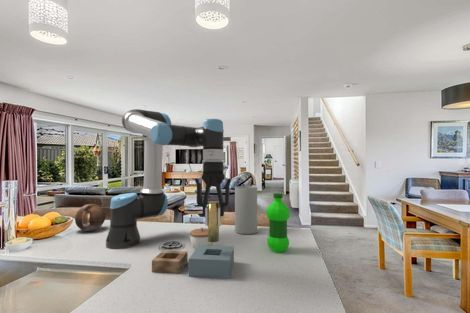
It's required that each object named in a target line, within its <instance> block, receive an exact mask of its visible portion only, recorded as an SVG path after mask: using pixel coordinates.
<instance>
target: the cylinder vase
mask: <svg viewBox="0 0 470 313" xmlns="http://www.w3.org/2000/svg"><path fill="white" fill-rule="evenodd" d="M234 231H235V233H237V234H240V235H254V234H257V232H258V187H257V186H253V185H239V186H235V187H234Z"/></svg>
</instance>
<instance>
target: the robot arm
mask: <svg viewBox="0 0 470 313" xmlns="http://www.w3.org/2000/svg"><path fill="white" fill-rule="evenodd" d="M121 124H122V126H123V128H124V129H125V130H126V131H127V132H129V133H132V134H140V135H142V138H143V140H144V142H145V147H144V167H143V168H144V170H143V186H142V189H141V190H139V195H138V193H136V192H130V193H129V192H128V193H122V194H118V195H114V196H113V197H112V198H111V199H110V205H109V209H110V215H109V216H110V219H109V222H110V223H109V224H110V225H109V231H108V234H107V236H106V239H105V247H106V248H108V249H125V248H127V249H128V248H131V247H133V246H137V245H139V244H140V243H141V235H140V232H139V229H138V228H139V227H138V226H137V225H138V223H137V222H138V220H141V219H147V218H156V217H159V216H162V215H164V214H165V213H166V211H167V209H168V206H169V205H168V203H169V201H168V196H167V195H166V193H165V192H164V189H163V188H162V172H163V169H162V167H163V153H164V152H163V151H164V146H179V147H189V148H198V147H200V148H201V147H202V160H203V163H202V175H201V177H198V178H195V179H194V182H195V184H196V197H197V198H196V200H197V203H196V204H197V206H199V207H202V216H203V217H204V218H205V220H204V221H205V223H204V225H205V227H208V202H209V201H208V200H209V197H210V191H211V187H214V188H215V189H216V194H217V198H218V199H217V200H218V202H219V208H218V226H219V227H220V226H222V217H224V216H225V207H228V206H229V205H230V187H231V186H230V185H231V183H232V178H228V177H226V175H225V174H224V162H223V161H224V132H225V131H224V122H223V121H222V119H219V118H218V119H217V118H206V119H204V120H203V122H202V126H200V127H193V126H184V125H178V124H177V125H175V124H172V121H171V118H170V117H169V115H168V114H166V113H163V112H159V111H154V110H153V111H152V110H145V109H140V108H139V109H130V110H128V111H126V112H125V113H124V114H123V115H122V118H121ZM203 182H204V184H205V189H204V190H205V191H204V195H203V190H202V189H203V188H202V183H203ZM223 182H224V184H225V187H224V189H225V190H224V191H225V193H224V198H223V192H222V187H221V184H222V183H223Z"/></svg>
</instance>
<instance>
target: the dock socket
mask: <svg viewBox="0 0 470 313" xmlns="http://www.w3.org/2000/svg"><path fill="white" fill-rule="evenodd" d="M234 264H235V246H232V245H231V246H230V245H229V246H228V245H211V246H210V245H199V246H198V247H197V248H196V250H195V249H194V251H193V252H192V253H191V255H190V256H189V257H188V277H193V278H195V277H196V278H197V277H198V278H212V279H231V274H232V270H233V267H234Z"/></svg>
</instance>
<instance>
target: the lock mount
mask: <svg viewBox="0 0 470 313" xmlns="http://www.w3.org/2000/svg"><path fill="white" fill-rule="evenodd" d="M188 255H189V254H188V251H184V250H183V251H181V250H162V251H161V252H159V254H158V255H156V256H155V257H154V258H153V259H152V260H151V272H152V273H167V274H170V273H171V274H180V273H181V271H182V270H183V269H184V268H185V266H186V265H187V264H188V263H189V257H188Z"/></svg>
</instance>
